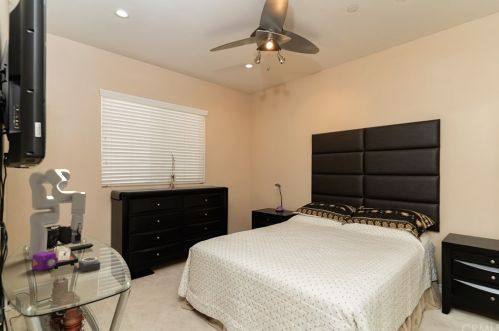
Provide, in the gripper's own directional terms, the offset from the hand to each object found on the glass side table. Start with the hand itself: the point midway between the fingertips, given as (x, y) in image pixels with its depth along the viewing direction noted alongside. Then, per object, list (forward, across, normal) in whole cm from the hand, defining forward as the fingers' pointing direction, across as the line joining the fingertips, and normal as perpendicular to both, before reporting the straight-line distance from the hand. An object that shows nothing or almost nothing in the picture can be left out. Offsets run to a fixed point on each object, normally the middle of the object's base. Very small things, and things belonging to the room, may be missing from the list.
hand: (76, 239), depth 168 cm
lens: (+2, 0, 0) cm, 2 cm away
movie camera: (+18, -66, +2) cm, 68 cm away
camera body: (+18, +6, +7) cm, 20 cm away
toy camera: (+18, -10, -14) cm, 24 cm away
